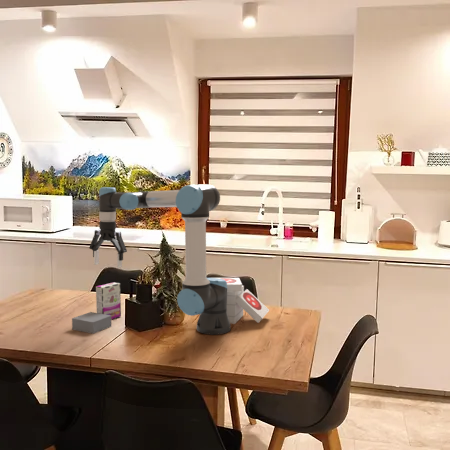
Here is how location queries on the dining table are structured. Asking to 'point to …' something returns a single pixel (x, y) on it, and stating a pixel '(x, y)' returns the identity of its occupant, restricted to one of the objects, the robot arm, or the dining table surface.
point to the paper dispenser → (242, 302)
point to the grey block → (91, 322)
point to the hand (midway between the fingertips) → (107, 265)
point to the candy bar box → (109, 299)
